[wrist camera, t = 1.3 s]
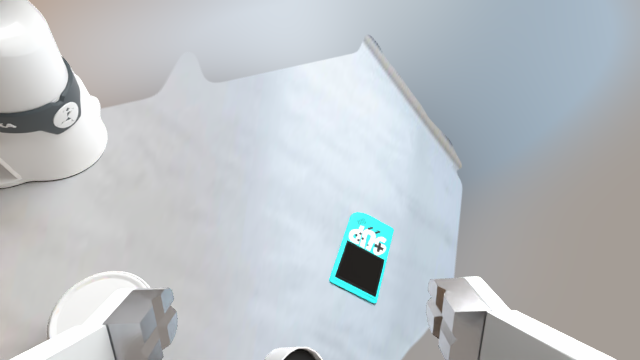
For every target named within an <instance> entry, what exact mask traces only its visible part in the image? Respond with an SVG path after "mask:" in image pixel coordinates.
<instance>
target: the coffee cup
mask: <svg viewBox="0 0 640 360" xmlns="http://www.w3.org/2000/svg"><path fill="white" fill-rule="evenodd" d="M122 288H150V287H149V285H148V284H147V283H146V282H145V281H144V280H142V279H141V278H139V277H138V276H136V275H134V274H131V273H127V272H122V271H109V272H102V273H98V274H95V275H92V276H90V277H87V278H85V279H83V280H82V281H80V282H78V283H77V284H75V285H74V286H73V287H71V288H70V289H69V290H68V291H67V292H66V293H65V294H64V295H63V296H62V297H61V298H60V300H59V301H58V302H57V304H56V305H55V307H54V309H53V311H52V313H51V315H50V318H49V322H48V326H47V339H48V340H49V339H51V338H53V337H55V336H57V335H59V334H61V333H63V332H65V331H67V330H69V329H71V328H73V327H75V326H81V325H82V324H83V323H84V322H85V321H86V320H87V319H88V318H89V317H90V316H91V315H92V314H93V313H94V312H95V311H96V310H97V309H98V308H99V307H100V306H101V305H102V304H103V303H104V302H105V301H106V300H107V299H108V298H109V297H110V296H111V295H112V294H113V293H114V292H115V291H116V290H119V289H122Z"/></svg>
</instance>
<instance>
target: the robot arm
mask: <svg viewBox="0 0 640 360" xmlns="http://www.w3.org/2000/svg"><path fill="white" fill-rule="evenodd" d="M100 110H101V106H100V103H99V101H98V99H97V98H96V97H94V96H91V95H89V93H88V92H87V90H86V88H85V86H84V85H83V83H82V81H81V79H80V78H79V77H78V76H77V75H75V74H74V72H73V70H72V69H71V67H70V66H69V64H68V63H67V61H66V60H65V59H64V58H63V57H62V56H61V54H60V52H59V50H58V47H57V45H56V43H55V40H54V38H53V36H52V34H51V31H50V29H49V27H48V24H47V22H46V20H45V18H44V17H43V15H42V14H41V13H40V12H39V10H38V9H36V7H34V5H33V4H32V3H30V2H29V1H28V0H0V188H7V187H11V186H15V185H18V184H22V183H25V182H29V181H47V180H56V179H62V178H66V177H69V176H72V175H75V174H77V173H80V172H82V171H83V170H85V169H87V168H88V167H90V166H91V165H92V164H94V163H95V162H96V161H97V160H98V159H99V158H100V156H101V155H102V154H103V152H104V150H105V148H106V145H107V130H106V127H105V125H104V123H103V121H102V120H101V117H100ZM428 292H429V294H430V295H431V298H430V299H429V300H428V302H427V305H426V315H427V322H428V325H429V328H430V330H431V332H432V334H433V335H434V336H435V337H437V338H438V339H439V348H440V351H441V352H442V354H443V356H444V359H445V360H616V359H614V358H612V357H610V356H608V355H606V354H604V353H602V352H599V351H598V350H595V349H593V348H591V347H589V346H587V345H585V344H583V343H581V342H579V341H577V340H575V339H573V338H571V337H569V336H567V335H565V334H563V333H561V332H559V331H557V330H555V329H553V328H551V327H549V326H547V325H545V324H543V323H541V322H539V321H537V320H535V319H532V318H530V317H528V316H526V315H524V314H522V313H520V312H518V311H516V310H514V311H513V310H510V309H509V308H508V307H507V306H506V305H505V304H504V303H503V302H502V300H501V299H500V298H499V297H498V296H497V295H496V294H495V293H494V292H493V290H491V288H490V287H489V286H488V285H487V284H486V283H485V282H484V281H483V280H482V278H480V277H478V276H475V277H462V278H445V279H430V281H429V283H428ZM173 300H174V296H173V292H172V290H171V289H170V288H122V289H119V290H116V291H115V292H114V293H113V294H112V295H111V296H110V297H109V298H108V299H107V300H106V301H105V302H104V303H103V304H102V305H101V306H100V307H99V308H98V309H97V310H96V311H95V312H94V313H93V314H92V315H91V316H90V317H89V318H88V319H87V320H86V321H85V322H84V323H83V324H82V325H81V326H75V327H73V328H71V329H69V330H67V331H65V332H63V333H61V334H59V335H57V336H55V337H53V338H51V339H49V340H47V341H45V342H43V343H41V344H39V345H37V346H35V347H34V348H32V349H30V350H28V351H26V352H24V353H22V354H20V355H18V356H16V357H14V358H12V359H10V360H162V358H163V352H162V350H163V349H165V348H166V347H167V346H169V345H170V344H171V342H172V340H173V339H174V337H175V333H176V330H177V322H178V318H177V312H176V310H175V309H174V308H172V307H171V306H170V305H171V303H172V302H173Z"/></svg>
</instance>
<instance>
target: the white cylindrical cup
mask: <svg viewBox="0 0 640 360" xmlns="http://www.w3.org/2000/svg"><path fill="white" fill-rule="evenodd" d="M264 360H323V359H322V358H321V356H320V355H319V354H318V353H317V351H315V350H313V349H311V348H309V347H287V348H277V349H275V350H273V351H271V352H270V353H269V354H268V355H267V356H266V357H265V359H264Z"/></svg>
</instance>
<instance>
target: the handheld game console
mask: <svg viewBox="0 0 640 360" xmlns="http://www.w3.org/2000/svg"><path fill="white" fill-rule="evenodd" d="M393 231H394V230H393V228H391V227H389V226H388V225H386V224H384V223H382V222H380V221H378V220H377V219H375V218H373V217H371V216H369V215H367V214H364V213H358V212H357V213H354V214H352V215H351V217H350V219H349V222H348V225H347V228H346V231H345V234H344V237H343V240H342V243H341V246H340V249H339V252H338V255H337V258H336V261H335V264H334V267H333V270H332V273H331V276H330V279H329V281H330V282H331V283H333V284H335V285H337V286H339V287H340V288H342V289H345V290H347V291H349V292H351V293H353V294H355V295H357V296H359V297H361V298H363V299H366V300H367V301H369V302H371V303H373V304H374V303H376V302H377V299H378V295H379V290H380V286H381V282H382V278H383V273H384V269H385V265H386V261H387V256H388V252H389V248H390V244H391V240H392V235H393Z"/></svg>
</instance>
